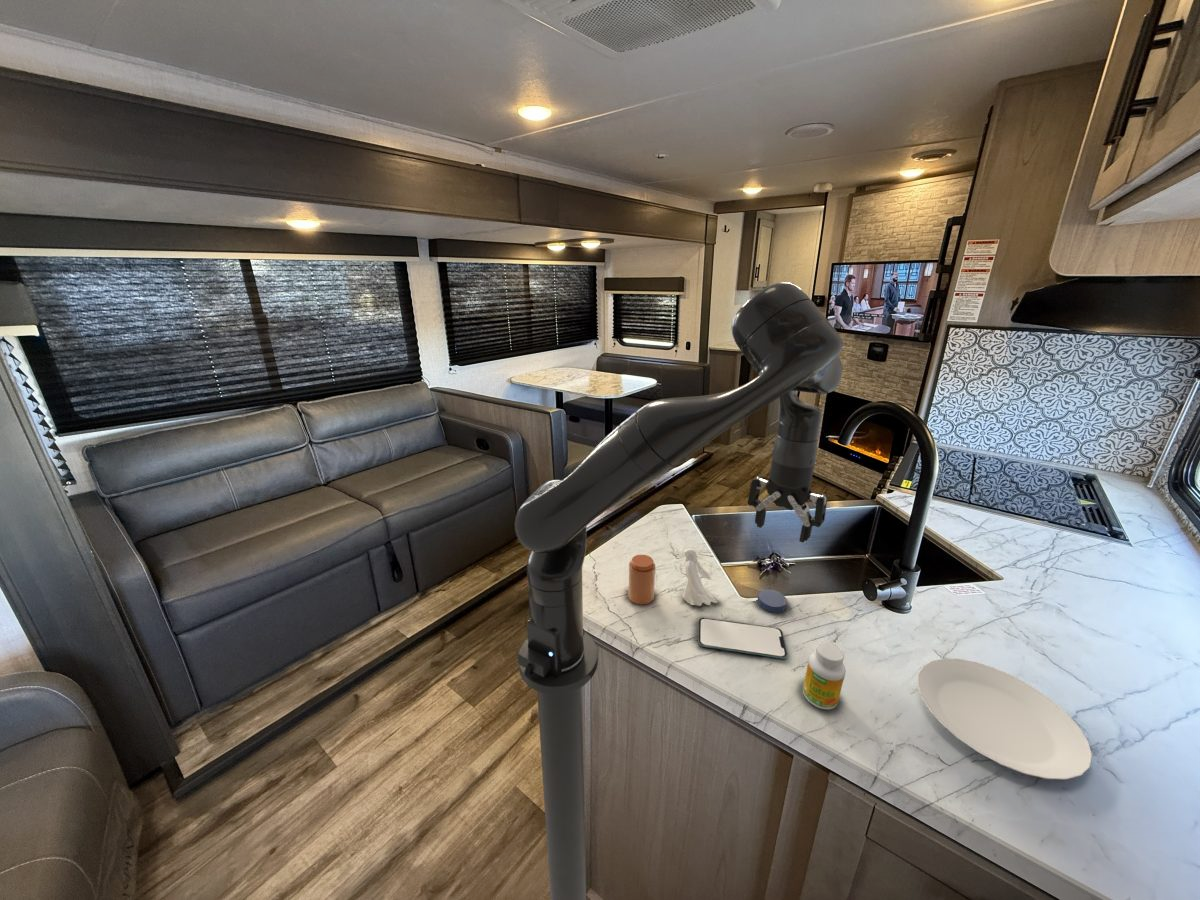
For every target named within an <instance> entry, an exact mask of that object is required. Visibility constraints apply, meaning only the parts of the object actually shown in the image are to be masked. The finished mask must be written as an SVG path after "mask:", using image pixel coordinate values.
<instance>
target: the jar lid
mask: <svg viewBox="0 0 1200 900" xmlns="http://www.w3.org/2000/svg"><path fill="white" fill-rule="evenodd" d="M787 603H788V599H787V597H786V596H785V595H784V594H783V593H782V592H780V591H778V590H774V589H770V588H767V589H762V590H760V591H759V592H758V594H757V604H758V606H759V607H760V608H762V609H763V610H765V611H767V612H768V613H782V612H784V611H785V610H786V609H787Z"/></svg>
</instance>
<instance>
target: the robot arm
mask: <svg viewBox="0 0 1200 900" xmlns="http://www.w3.org/2000/svg"><path fill="white" fill-rule="evenodd" d="M732 319H733V320H732V321H731V330H730V331H731V335H732V338H733V340H734V342H735V344H736V346H737V348H738V349H739V350H740V353H742V354H743V356H744V357H745V358H746V360H747V361H748V363H749V364H750V365H751V367H752V369H754V371H755V373H756V374H757V376H756V377H755V378H753V379H752V380H750V381H748V382H746V383H745V384H742V385H740V386H738V387H736V388H733V389H729V390H727V391H722V392H717V393H712V394H706V395H699V396H697V395H696V396H681V397H669V398H661V399H656V400H652V401H649V402H648V403H646V404H644V405H643V406H642V407H640V408H638V409H637V410H636V411H634V412H633V413H632V414H631V415H630V416H629V417H627V418H626V419H625V420H624V421H623V422H621V423H620V424H618V425H617V427H615V428H614V429H613V430H612V431H611V432H610V433H608V434H607V435H606V436H605V438H604V439H602V440H601V441H600V442H599V443H598V444H597V445H596V446H595V447H594V449H592V451H591V452H590V453H589V454H588V455H587V456H586V457H585V458H584V459H583V460H582V461H581V462H580V463H579V465H578V466H577V467H576V468H574V469H573V471H572V472H570V473H569V474H568V475H567V476H566V477H565V478H563V479H552V480H549V481H546V482H545V483H543V484H541V485H540V486H539V487H538V488H537V489H535V490H534V491H533V492H532V494H530V495H529V496H528V497H527V498H526V499H525V500H524V502H523V503H521V505H520V506H519V508H518V510H517V512H516V515H515V518H514V533H515V536H516V539H517V540H518V542H519V543H520V545H521V546H523V547H524V548H525V549H527V550H528V551H530V553H529V556H528V558H527V562H526V577H527V591H528V593H527V594H528V608H529V619H528V620H527V621H526V634H527V635H526V637H527V639H528V645H526V646H525V647H524V648H523V649H522V650H521V651H520V650H519V651H520V652H518V653H517V664H519V665H521V666H523V667H525V668H526V669H525V676H526V677H529V676H531V675H533V674H534V673H536V674H538V675H540V676H542V677H544V676H545V675H546V674H549V675H551V676H553V677H555V678H558V677H559V676H560V675H561V674H564V673H567V672H570V671H572V670H574V669H575V668H576V667H577V666H579V664H580V663H581V662H582V660H583V657H584V645H583V635H584V632H585V629H584V601H583V598H584V596H583V595H584V594H583V566H584V565H583V564H584V562H585V558H586V552H587V551H586V550H587V527H588V525H590V524H591V523H592V522H593V521H594V520H595V519H597V518H598V517H600V516H601V515H603V514H604V513H605V512H607V511H608V510H610V509H612V508H613V507H615V506H618V505H619V504H621V503H622V502H624V501H626V500H627V499H629V498H631V497H632V496H634V495H635V494H636V493H638V492H640V491H641V490H643V489H644V488H646V487H648V486H650V485H651V484H652V483H654V482H656V481H658V480H659V479H660V478H662V477H663V476H665V475H666V474H669V473H670V472H671V471H672V470H674V469H675V468H677V467H678V466H679V465H681V464H682V463H684V462H685V461H686V460H688V459H689V458H691V457H692V456H693V455H695V454H696V453H698V452H699V451H700V450H701V449H703V448H704V447H705V446H706V445H708V444H709V443H711V442H712V441H714V440H715V439H716V438H718V437H719V436H720V435H722V434H724V433H725V432H726V431H727V430H729V429H731V428H732V427H733V426H736V424H738V423H740V422H741V421H743V420H744V419H747V418H748V417H750V416H751V415H752V414H754V413H757V411H759V410H761V409H763V408H765V407H766V406H767V405H769V404H771V403H772V402H774V401H776V400H777V399H779V419H778V427H777V433H776V437H775V440H774V443H773V449H772V451H771V452H772V453H771V455H772V456H771V462H770V469H769V475H768V479H767V480H766V479H763V477H762V476H761V475H757V476H756V477H754V478H753V479H752V480H751V483H750V489H749V493H748V498H747V505H748V506H750V507H753V508H754V509H755V517H754V523H755V525H756V527H757V528H759V529H761V528H762V527H764V526H765V522H766V516H767V515H766V514H767V507H768V506H770V505H771V504H772V503H773V504H774V505H775V506H776V507H779V508H785V509H787V510H789V511H793V510H794V512H795V514H796V517H798V518H799V519H800V520H801V522H802V525H801V530H800V536H799V539H798V540H799V542H800V543H804V542H807V541H808V540H809V538H810V537H811V535H812V531H813V527H816V528H820V527H821V526H822V524H824V523H825V519H826V512H827V505H828V504H827V503H828V494H826V493H821V494H817V493H814V492H813V493H812V490H811V487H812V480H813V474H814V470H815V464H816V459H817V453H818V441H819V434H820V429H821V424H822V418H823V412H822V409H821V408H819V406H817V405H814V404H812V403H810V402H806V401H803V400H802V399H800V398H799V396H798V395H797V392H801V393H809V394H818V395H827V394H829V393H832V392H833V391H834V390H836V389H837V387H838V386H839V384H840V383H841V380H842V377H843V364H842V361H841V358H840V357H839V355H840V354H841V353H842V350H843V348H844V341H843V339H842V337H841V335H840V334H839V332H838V331H837V330H836V329H835V327H834V326H833V325H832V323H830V321H829V320H828V318H827V317H826V316H825V314H823V312H822V311H821V310H820V309H819V308H818V306H817V305H816V304H815V302H813V301H812V299H811V298H810V297H809V296H808V295H807V294H806V292H805V291H804V290H803V289H802V288H800V287H799V286H798V285H795V284H793V283H791V282H777V283H773V284H770V285H768V286H766V287H764V288H762V289H761V290H759V291H757V292H756V293H754V295H752V296H751V297H750V298H749V299H747V300H746V301H745V302H744V303H743V304H742V306H740V308H739V309H738V310H737V312H736V313H735V316H734V317H733V318H732ZM764 487H765V489H766V492H767V493H768V496H767V497H766V498H764V499H763V500H760V498H759V497H760V492H761V490H762V489H764ZM809 500H811V501H812V505H813V506H815V509H814V510H815V511H814V516H813V514H812V513H811V511H810V506H809V504H808V503H807V502H808V501H809ZM519 665H518V666H519Z"/></svg>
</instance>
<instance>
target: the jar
mask: <svg viewBox="0 0 1200 900" xmlns="http://www.w3.org/2000/svg"><path fill="white" fill-rule="evenodd" d="M655 582H656V563H655V562H654V559H653V558H652V556H651V555H650V556H649V555H647V554H636V555H634V556H632V558H631V560H630V561H629V563H628V590H627V593H628V594H627V597H628V599H629V600H630V601H631V602H632V603H634V604H637V605H649V604H650V603H651V602H653V601H654V598H655Z"/></svg>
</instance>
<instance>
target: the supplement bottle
mask: <svg viewBox="0 0 1200 900" xmlns="http://www.w3.org/2000/svg"><path fill="white" fill-rule="evenodd" d="M844 654H845V653H844V651H843V650H842V649H841V648H840V647H839V646H838V645H836V644H834V643H832V642H828V641H822V642H819V643H818V644H817V645H816V647H815V651H814V652H812V653H811V654H810V656H809V657H808V662H807V666H806V672H805V677H804V682H803V686H802V693H803V696H804V697H805V699H806V700H807V701H808V702H809V703H810V704H811V705H812V706H814V707H816V708H818V709H820V710H821V709H822V710H832V709H834V708H836V707H837V706H838V703H839V700H840V696H841V692H842V688H843V683H844V680H845V676H846V671H847V670H846V665H845V663H844V659H845V655H844Z"/></svg>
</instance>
